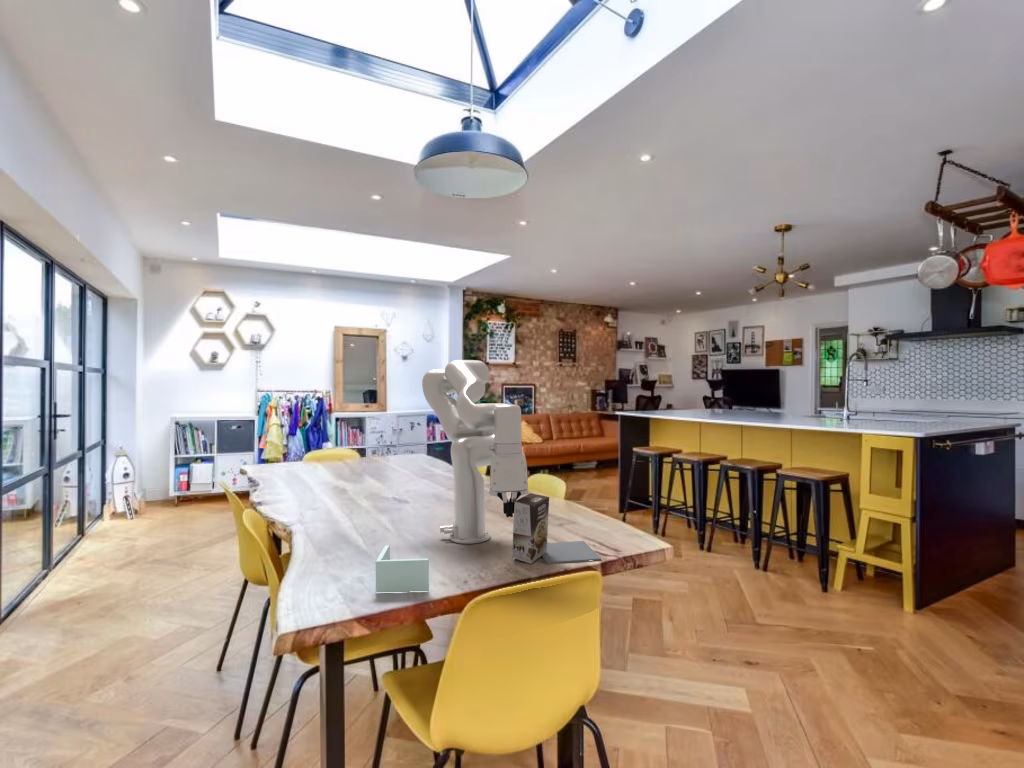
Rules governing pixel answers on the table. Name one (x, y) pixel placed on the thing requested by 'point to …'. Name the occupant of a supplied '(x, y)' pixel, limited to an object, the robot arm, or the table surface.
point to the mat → (569, 552)
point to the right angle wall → (401, 573)
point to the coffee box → (530, 527)
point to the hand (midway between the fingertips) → (509, 516)
